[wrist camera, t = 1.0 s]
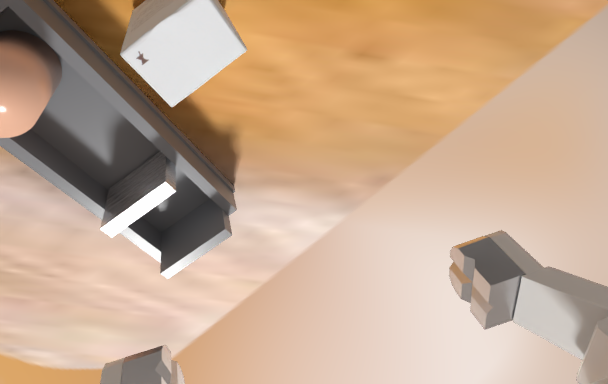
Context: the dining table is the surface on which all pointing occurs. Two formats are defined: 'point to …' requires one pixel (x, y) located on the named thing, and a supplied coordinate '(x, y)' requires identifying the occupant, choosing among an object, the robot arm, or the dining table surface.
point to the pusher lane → (116, 143)
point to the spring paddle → (138, 193)
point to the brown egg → (25, 80)
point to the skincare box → (180, 44)
